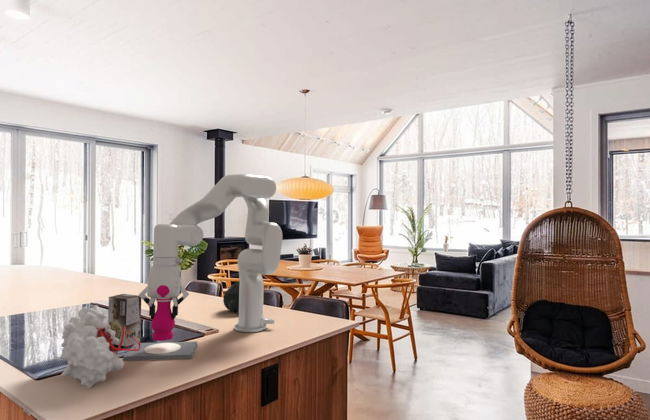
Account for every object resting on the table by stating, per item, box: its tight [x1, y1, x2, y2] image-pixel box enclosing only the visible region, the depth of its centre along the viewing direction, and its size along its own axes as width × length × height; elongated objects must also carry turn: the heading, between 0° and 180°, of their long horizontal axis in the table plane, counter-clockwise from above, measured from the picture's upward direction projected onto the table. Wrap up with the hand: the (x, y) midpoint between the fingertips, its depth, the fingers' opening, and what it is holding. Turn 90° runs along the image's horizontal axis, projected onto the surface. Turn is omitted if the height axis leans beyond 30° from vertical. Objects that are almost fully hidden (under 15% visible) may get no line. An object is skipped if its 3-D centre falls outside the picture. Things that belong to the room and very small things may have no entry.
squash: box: [223, 281, 240, 314], centre depth 198 cm, size 14×15×15 cm
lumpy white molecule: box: [60, 304, 142, 389], centre depth 117 cm, size 20×18×25 cm
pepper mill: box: [150, 285, 176, 342], centre depth 137 cm, size 7×7×20 cm
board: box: [122, 340, 198, 362], centre depth 137 cm, size 20×14×1 cm
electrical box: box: [107, 293, 142, 348], centre depth 146 cm, size 9×6×16 cm
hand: (163, 317), depth 137 cm, fingers closed on pepper mill, 5 cm apart
